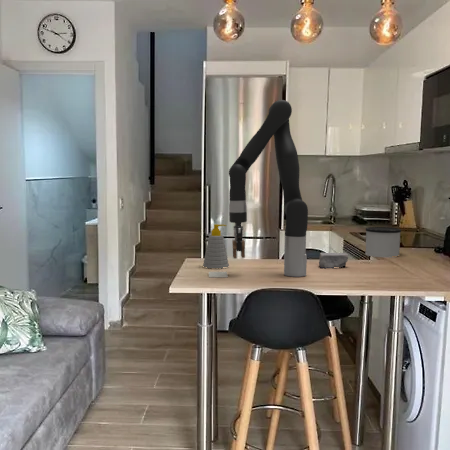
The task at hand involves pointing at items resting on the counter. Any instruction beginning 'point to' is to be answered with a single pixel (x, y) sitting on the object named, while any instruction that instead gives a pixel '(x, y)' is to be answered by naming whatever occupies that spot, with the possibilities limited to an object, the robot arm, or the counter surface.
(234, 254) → the wooden pronged block
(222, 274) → the felt pad
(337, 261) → the decorative stone
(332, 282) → the counter surface
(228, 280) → the counter surface
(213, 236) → the soap bottle
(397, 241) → the container
